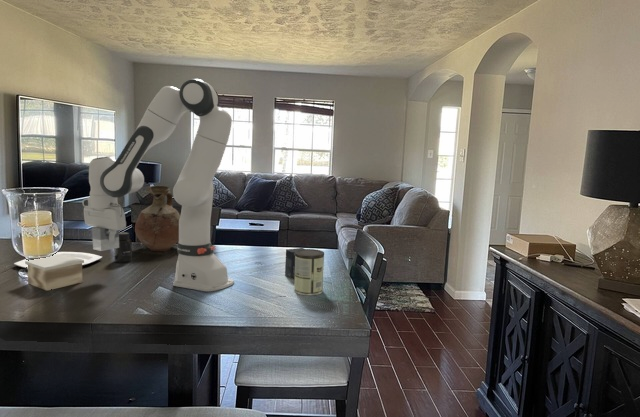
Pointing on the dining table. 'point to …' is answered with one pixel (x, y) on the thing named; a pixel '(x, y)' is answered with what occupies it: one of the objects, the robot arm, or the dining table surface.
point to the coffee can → (309, 272)
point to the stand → (54, 271)
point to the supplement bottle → (123, 249)
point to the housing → (104, 239)
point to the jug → (158, 221)
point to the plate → (84, 256)
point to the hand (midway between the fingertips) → (105, 239)
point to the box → (290, 262)
